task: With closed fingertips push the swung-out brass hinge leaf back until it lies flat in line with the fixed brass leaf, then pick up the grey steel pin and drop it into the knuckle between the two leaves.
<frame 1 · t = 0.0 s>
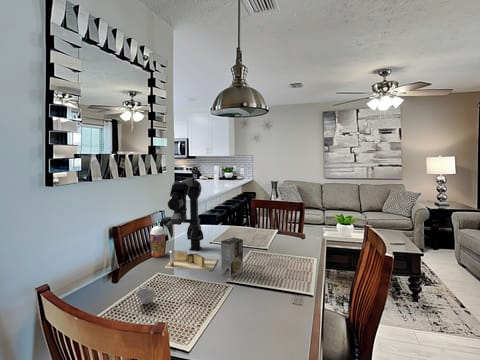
hand: (180, 237, 145), 15 cm above the table, fingers open, 9 cm apart
hinge base: (191, 262, 152), resting on mount board
smoothie: (158, 257, 160), on the table
loose leaf: (198, 260, 146), point 3 cm above the table, hinge at -45.0°
grey head sculpture: (145, 304, 108), on the table
coffee box: (232, 273, 138), on the table
pin: (172, 265, 145), point 1 cm above the table, touching mount board
mount board: (192, 264, 149), on the table
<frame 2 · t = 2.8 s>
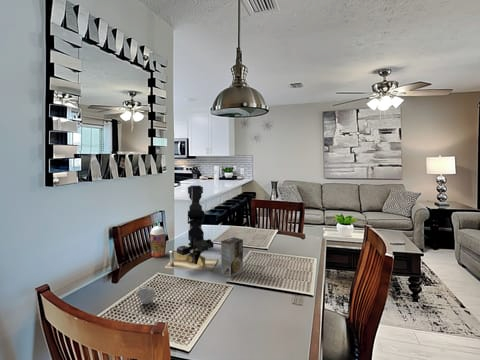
hand: (195, 264, 144), 2 cm above the table, fingers closed
loose leaf: (199, 259, 146), point 3 cm above the table, hinge at -42.4°, touching gripper
everything else where it was.
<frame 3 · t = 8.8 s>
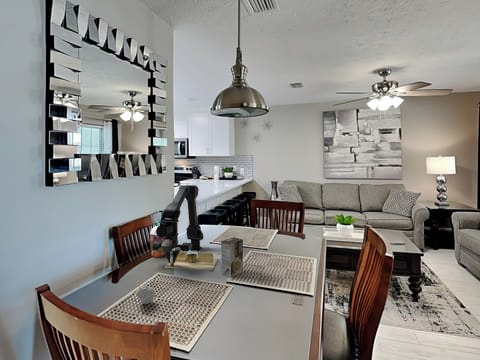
hand: (172, 263, 145), 2 cm above the table, fingers closed on pin, 2 cm apart
loose leaf: (205, 256, 151), point 3 cm above the table, hinge at 1.5°
pin: (172, 265, 145), point 1 cm above the table, touching gripper, mount board
everything else where it was.
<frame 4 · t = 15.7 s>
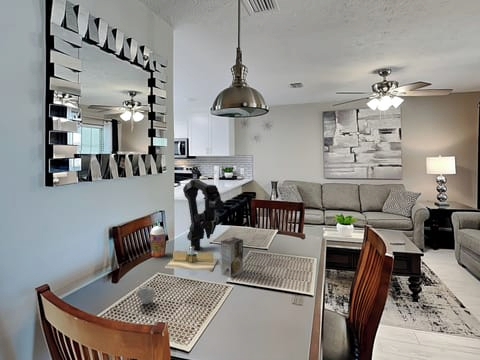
hand: (210, 236, 158), 12 cm above the table, fingers open, 9 cm apart
pin: (191, 261, 152), point 1 cm above the table, touching mount board
everything else where it was.
at the end: loose leaf at +2° (first picture: -45°); pin 0.0 cm off-centre on the hinge base, point 0.6 cm above the hinge base's base; pin tilted 0° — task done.
